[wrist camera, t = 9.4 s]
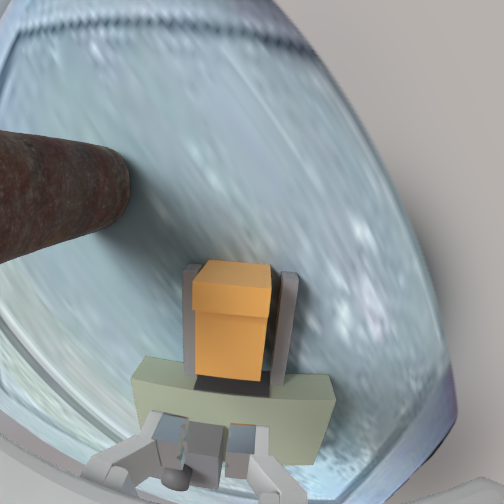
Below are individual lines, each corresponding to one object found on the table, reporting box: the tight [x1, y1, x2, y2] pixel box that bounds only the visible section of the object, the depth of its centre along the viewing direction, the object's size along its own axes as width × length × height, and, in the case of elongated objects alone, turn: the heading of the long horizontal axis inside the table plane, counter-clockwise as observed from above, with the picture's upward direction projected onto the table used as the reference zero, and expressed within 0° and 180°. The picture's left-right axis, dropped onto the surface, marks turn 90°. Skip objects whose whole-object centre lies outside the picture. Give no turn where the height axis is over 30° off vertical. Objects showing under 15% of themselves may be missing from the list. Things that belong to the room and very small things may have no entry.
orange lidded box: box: [192, 259, 272, 381], centre depth 22 cm, size 8×5×6 cm, turn 175°
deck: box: [131, 263, 336, 491], centre depth 21 cm, size 20×18×10 cm
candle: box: [0, 130, 130, 264], centre depth 13 cm, size 8×7×20 cm
